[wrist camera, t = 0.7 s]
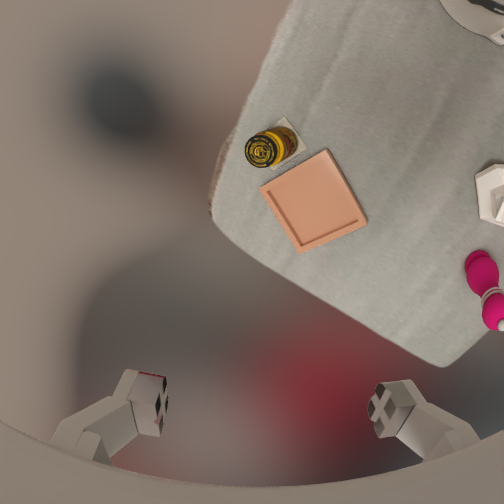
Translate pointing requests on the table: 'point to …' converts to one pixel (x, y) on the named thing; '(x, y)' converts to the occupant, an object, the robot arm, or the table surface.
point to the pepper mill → (486, 288)
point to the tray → (314, 202)
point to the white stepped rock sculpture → (491, 194)
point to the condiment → (274, 146)
